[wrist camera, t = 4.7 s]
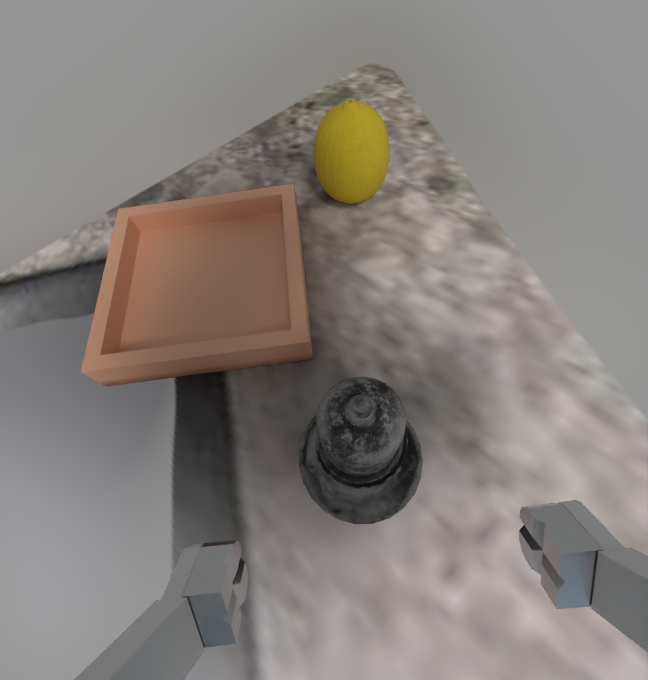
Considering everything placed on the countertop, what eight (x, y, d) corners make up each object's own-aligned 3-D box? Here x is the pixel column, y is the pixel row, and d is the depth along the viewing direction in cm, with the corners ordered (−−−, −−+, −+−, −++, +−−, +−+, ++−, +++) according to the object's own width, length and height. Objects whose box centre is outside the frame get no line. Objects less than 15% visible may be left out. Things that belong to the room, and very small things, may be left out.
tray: (106, 386, 24) (80, 372, 22) (135, 231, 30) (118, 208, 28) (313, 359, 24) (308, 341, 21) (298, 208, 30) (293, 183, 28)
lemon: (308, 194, 31) (293, 95, 24) (363, 170, 32) (364, 67, 25) (340, 235, 28) (334, 139, 21) (398, 207, 29) (412, 105, 22)
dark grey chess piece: (287, 459, 21) (214, 390, 10) (363, 395, 22) (368, 277, 12) (354, 550, 18) (350, 586, 8) (434, 473, 20) (523, 414, 9)
